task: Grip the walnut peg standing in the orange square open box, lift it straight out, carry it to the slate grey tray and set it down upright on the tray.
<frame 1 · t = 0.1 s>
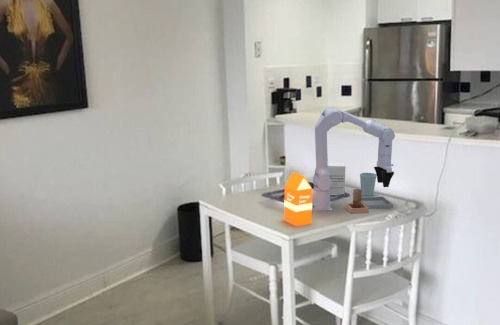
hand: (383, 184, 230), 10 cm above the table, tool pointing down, fingers open, 7 cm apart
orange juice: (297, 222, 212), on the table
tray: (374, 205, 234), on the table
orange square open box: (356, 211, 225), on the table
peg: (356, 210, 225), point 1 cm above the table, touching orange square open box
cup: (367, 195, 250), on the table
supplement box: (333, 194, 253), on the table
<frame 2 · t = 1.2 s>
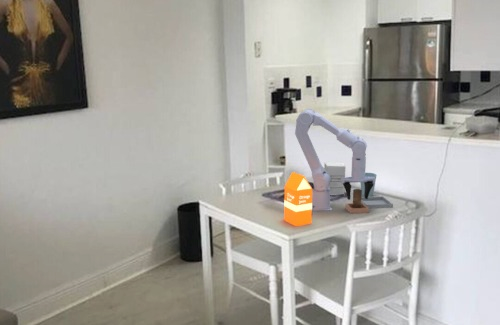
hand: (357, 198, 224), 6 cm above the table, tool pointing down, fingers open, 7 cm apart
nothing on the table moved.
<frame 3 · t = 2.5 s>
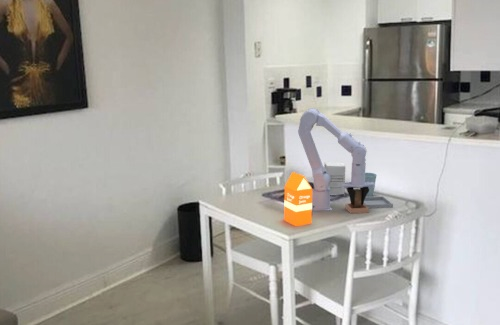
hand: (356, 204, 224), 3 cm above the table, tool pointing down, fingers closed on peg, 4 cm apart
peg: (356, 210, 225), point 1 cm above the table, touching gripper, orange square open box
everything else where it was.
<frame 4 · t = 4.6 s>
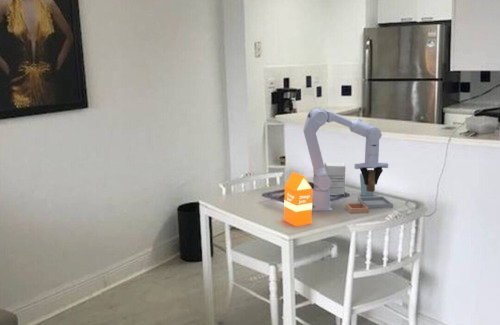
hand: (370, 184, 229), 11 cm above the table, tool pointing down, fingers closed on peg, 4 cm apart
peg: (370, 190, 229), point 8 cm above the table, touching gripper
everything else where it was.
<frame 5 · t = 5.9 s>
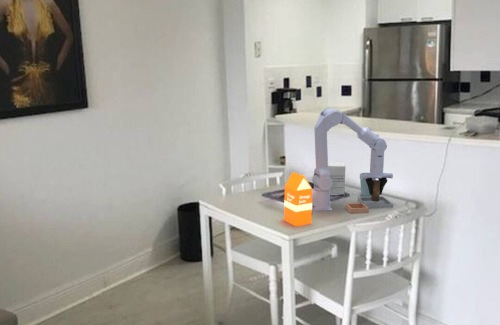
hand: (375, 194, 233), 5 cm above the table, tool pointing down, fingers closed on peg, 4 cm apart
peg: (375, 200, 233), point 2 cm above the table, touching gripper
everything else where it was.
when the fingers open (5 cm above the table, at t = 6.7 s): peg drops 1 cm, resting on tray.
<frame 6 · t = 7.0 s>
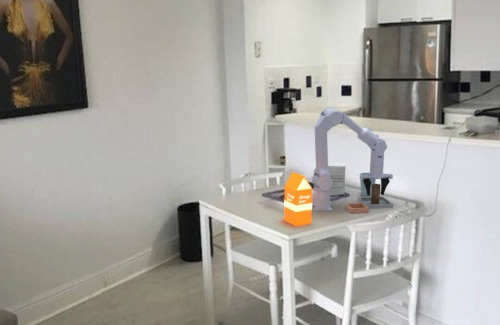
hand: (375, 194, 233), 5 cm above the table, tool pointing down, fingers open, 6 cm apart
peg: (375, 204, 233), point 1 cm above the table, touching tray
everything else where it was.
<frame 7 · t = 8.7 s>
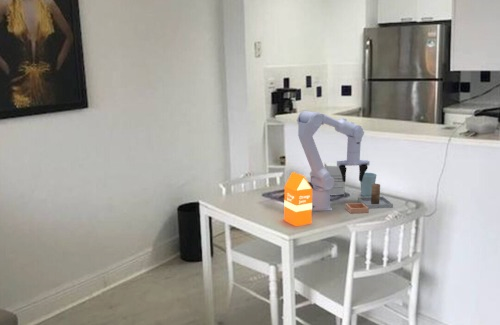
hand: (352, 181, 235), 10 cm above the table, tool pointing down, fingers open, 7 cm apart
nothing on the table moved.
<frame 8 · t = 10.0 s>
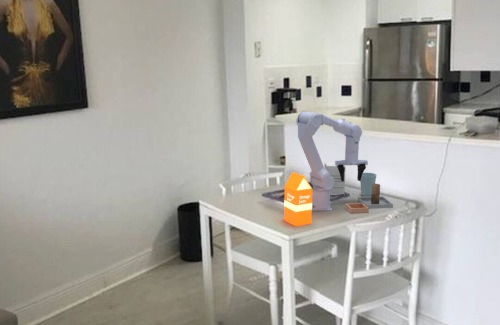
hand: (350, 180, 235), 10 cm above the table, tool pointing down, fingers open, 7 cm apart
nothing on the table moved.
at the end: peg inside the target area on the tray (0.2 cm from its centre), point 0.6 cm above the tray's base; peg tilted 0°; the gripper is holding nothing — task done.
